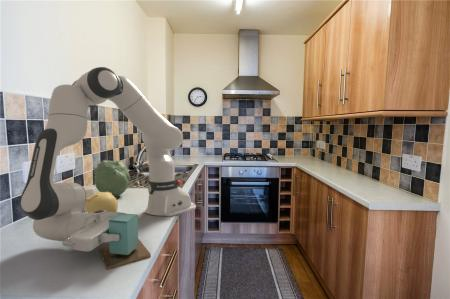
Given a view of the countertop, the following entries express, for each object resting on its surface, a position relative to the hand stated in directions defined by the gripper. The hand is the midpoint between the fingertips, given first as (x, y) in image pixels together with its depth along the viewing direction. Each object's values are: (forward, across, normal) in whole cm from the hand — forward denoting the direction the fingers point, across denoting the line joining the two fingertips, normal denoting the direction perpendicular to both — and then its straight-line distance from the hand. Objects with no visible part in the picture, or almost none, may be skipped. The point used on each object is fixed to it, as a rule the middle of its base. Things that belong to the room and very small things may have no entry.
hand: (126, 231), depth 76 cm
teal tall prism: (-1, 0, +6) cm, 6 cm away
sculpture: (-27, +26, +7) cm, 38 cm away
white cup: (-40, +34, +7) cm, 53 cm away
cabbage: (-41, +54, +7) cm, 69 cm away
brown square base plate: (-1, 0, +7) cm, 7 cm away
